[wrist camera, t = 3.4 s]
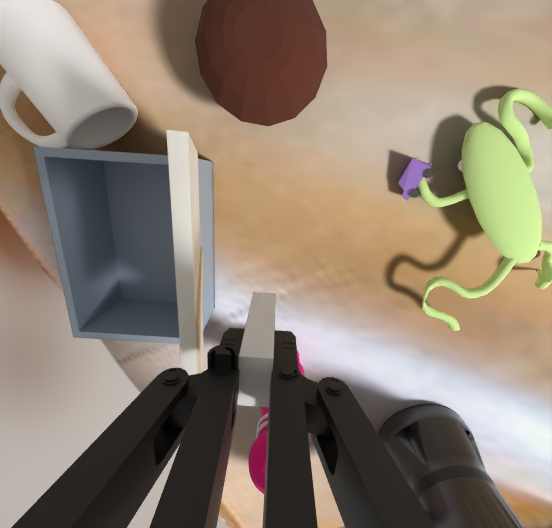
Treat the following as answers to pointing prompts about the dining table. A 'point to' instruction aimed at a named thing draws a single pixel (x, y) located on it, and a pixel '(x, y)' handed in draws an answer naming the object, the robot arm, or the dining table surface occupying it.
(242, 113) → the muffin
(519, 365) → the dining table surface
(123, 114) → the mug
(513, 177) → the figurine
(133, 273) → the box
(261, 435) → the pepper mill
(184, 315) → the lid
